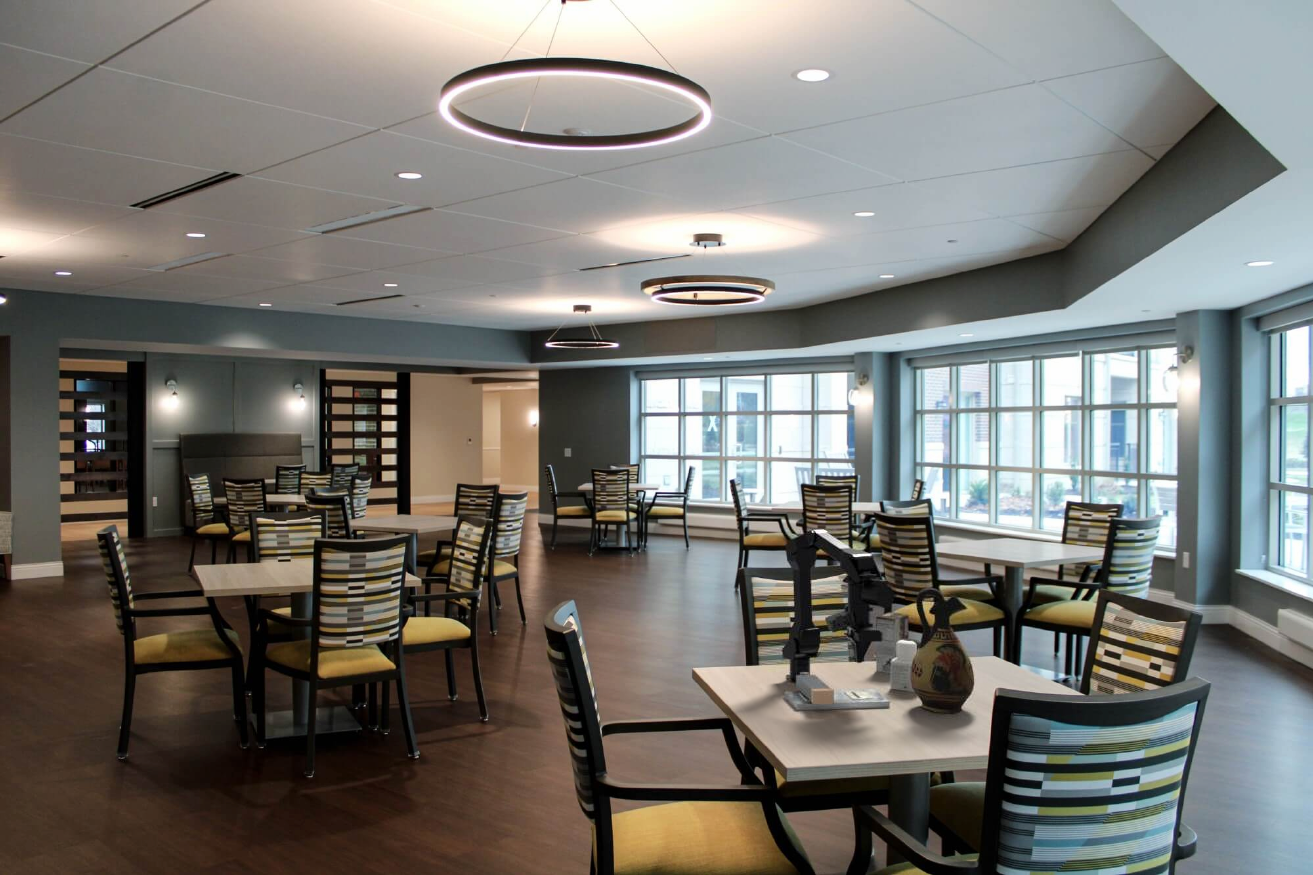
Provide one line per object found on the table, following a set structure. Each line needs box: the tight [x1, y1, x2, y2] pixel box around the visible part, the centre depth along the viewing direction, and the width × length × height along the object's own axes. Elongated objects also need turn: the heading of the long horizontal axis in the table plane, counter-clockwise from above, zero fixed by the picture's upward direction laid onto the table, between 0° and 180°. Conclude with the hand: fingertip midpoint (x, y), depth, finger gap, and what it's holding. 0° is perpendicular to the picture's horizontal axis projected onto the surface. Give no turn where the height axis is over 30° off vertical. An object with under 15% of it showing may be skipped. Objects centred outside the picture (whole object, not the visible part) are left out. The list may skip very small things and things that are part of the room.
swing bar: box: [795, 672, 835, 704], centre depth 246 cm, size 19×5×5 cm, turn 7°
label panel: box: [784, 688, 891, 711], centre depth 246 cm, size 12×24×2 cm, turn 97°
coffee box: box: [875, 611, 910, 675], centre depth 281 cm, size 9×6×16 cm
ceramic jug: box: [910, 587, 975, 715], centre depth 241 cm, size 17×15×30 cm
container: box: [890, 638, 921, 693], centre depth 261 cm, size 8×8×13 cm
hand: (858, 662), depth 247 cm, fingers closed
